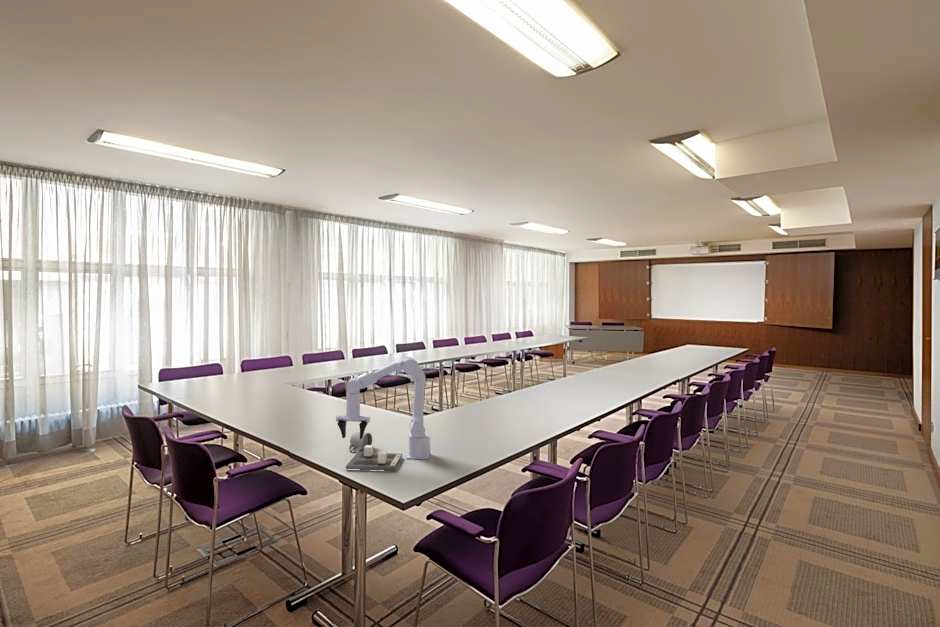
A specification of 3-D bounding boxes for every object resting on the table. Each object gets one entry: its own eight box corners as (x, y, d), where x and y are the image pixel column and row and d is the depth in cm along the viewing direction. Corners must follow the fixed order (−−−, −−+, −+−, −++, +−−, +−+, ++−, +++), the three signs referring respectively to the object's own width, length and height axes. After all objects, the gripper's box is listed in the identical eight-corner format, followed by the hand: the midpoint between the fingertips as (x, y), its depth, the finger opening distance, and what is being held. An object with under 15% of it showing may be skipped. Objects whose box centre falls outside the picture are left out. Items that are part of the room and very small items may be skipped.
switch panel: (402, 458, 204) (402, 453, 204) (394, 471, 188) (394, 466, 188) (357, 457, 205) (357, 452, 205) (345, 470, 189) (345, 465, 189)
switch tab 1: (372, 454, 202) (372, 445, 202) (371, 456, 199) (371, 447, 199) (366, 453, 202) (366, 445, 202) (364, 456, 199) (364, 447, 199)
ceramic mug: (358, 444, 222) (358, 429, 222) (372, 447, 219) (372, 430, 219) (344, 452, 212) (344, 435, 212) (359, 454, 209) (359, 437, 209)
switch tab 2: (386, 460, 194) (386, 451, 193) (385, 463, 191) (385, 454, 190) (379, 460, 194) (379, 451, 194) (377, 463, 191) (377, 454, 191)
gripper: (333, 408, 197) (332, 439, 197) (366, 409, 196) (366, 441, 196) (339, 404, 204) (338, 435, 204) (371, 405, 203) (371, 436, 203)
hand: (352, 437), depth 201 cm, fingers open, 7 cm apart
